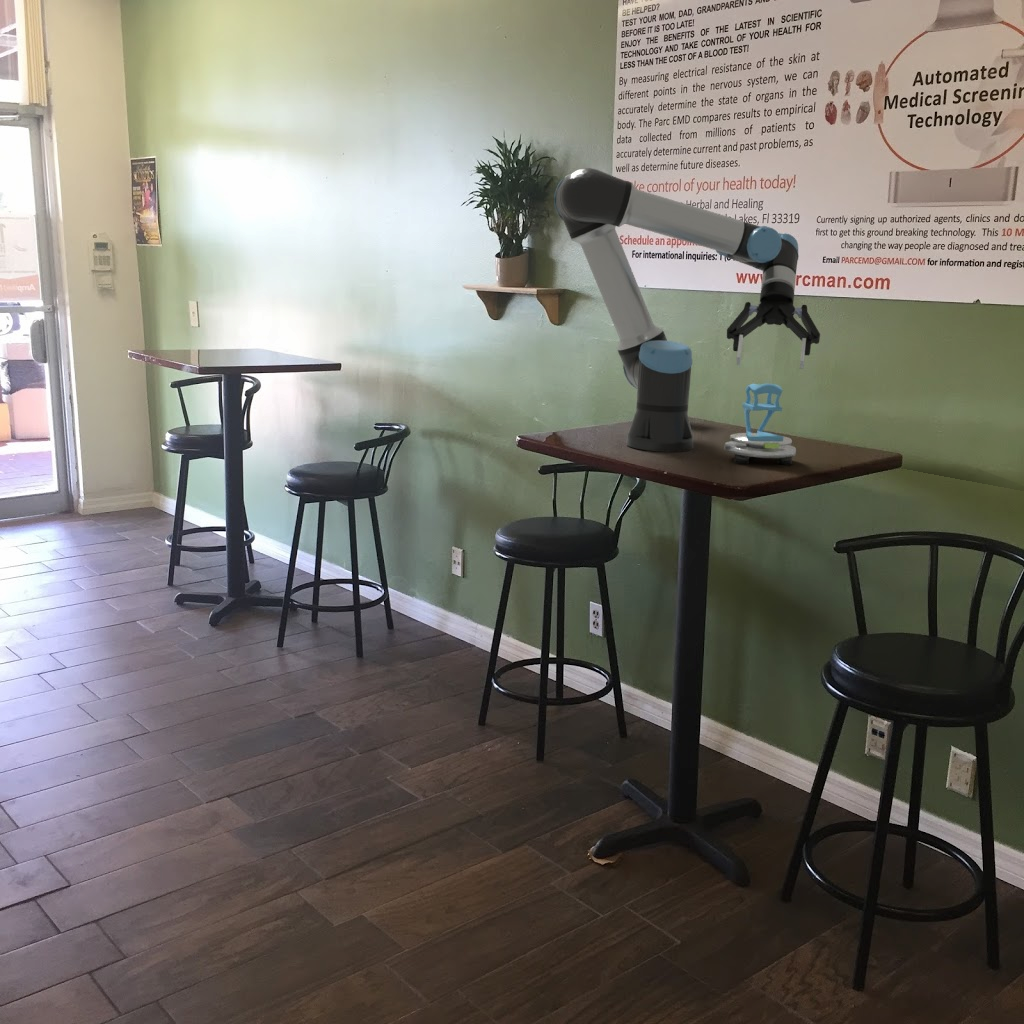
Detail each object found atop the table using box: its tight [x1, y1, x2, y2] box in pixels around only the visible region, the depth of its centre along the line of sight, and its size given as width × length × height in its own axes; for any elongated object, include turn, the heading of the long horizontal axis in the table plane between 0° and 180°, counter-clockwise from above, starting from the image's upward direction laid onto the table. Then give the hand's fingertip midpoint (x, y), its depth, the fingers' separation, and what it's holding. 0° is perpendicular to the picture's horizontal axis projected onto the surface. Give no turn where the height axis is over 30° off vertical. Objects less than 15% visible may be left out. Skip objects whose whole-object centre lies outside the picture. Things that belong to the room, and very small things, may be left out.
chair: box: [742, 382, 784, 441], centre depth 227 cm, size 8×8×12 cm
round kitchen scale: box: [724, 432, 797, 466], centre depth 229 cm, size 15×15×5 cm
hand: (769, 363), depth 234 cm, fingers open, 13 cm apart
